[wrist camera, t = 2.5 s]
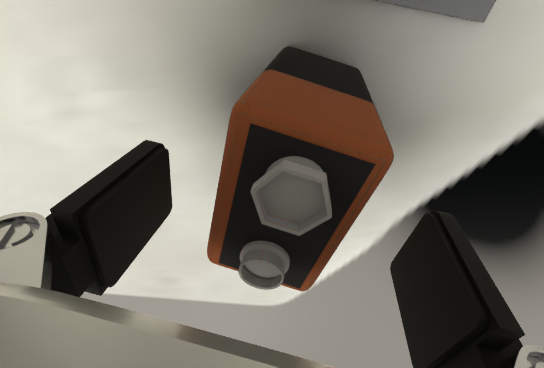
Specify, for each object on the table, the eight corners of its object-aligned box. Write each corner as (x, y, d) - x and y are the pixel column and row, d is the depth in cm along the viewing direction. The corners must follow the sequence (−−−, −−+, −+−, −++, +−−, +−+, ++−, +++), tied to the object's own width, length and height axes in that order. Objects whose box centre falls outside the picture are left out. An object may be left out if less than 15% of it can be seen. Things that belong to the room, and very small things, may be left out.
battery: (364, 68, 13) (416, 175, 5) (317, 173, 18) (307, 321, 10) (283, 42, 13) (216, 109, 5) (254, 152, 17) (192, 285, 9)
